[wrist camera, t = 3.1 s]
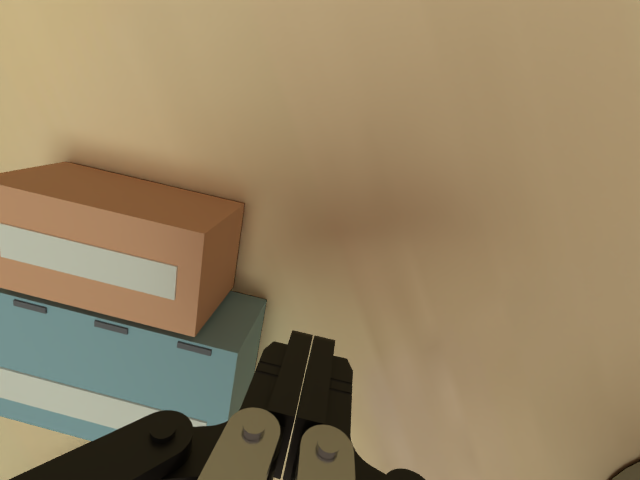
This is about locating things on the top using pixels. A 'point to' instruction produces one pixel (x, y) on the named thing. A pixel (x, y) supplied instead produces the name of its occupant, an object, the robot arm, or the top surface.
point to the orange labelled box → (117, 244)
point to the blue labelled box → (121, 365)
